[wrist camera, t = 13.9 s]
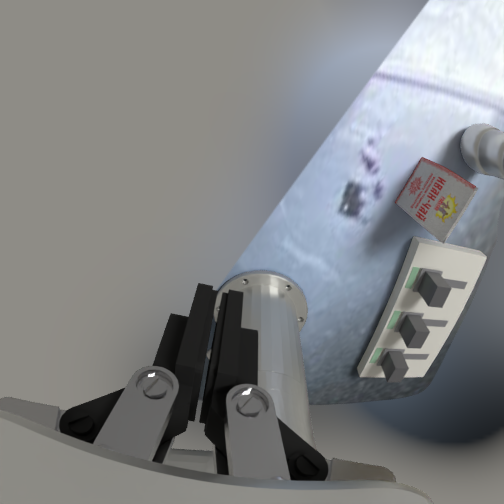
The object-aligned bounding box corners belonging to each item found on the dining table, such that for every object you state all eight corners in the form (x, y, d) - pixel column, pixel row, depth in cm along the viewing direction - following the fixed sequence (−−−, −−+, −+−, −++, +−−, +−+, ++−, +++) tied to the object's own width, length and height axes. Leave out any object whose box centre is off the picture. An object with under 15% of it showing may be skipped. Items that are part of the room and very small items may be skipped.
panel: (419, 369, 49) (423, 377, 47) (356, 368, 49) (359, 377, 47) (480, 250, 39) (487, 257, 37) (413, 236, 38) (419, 242, 36)
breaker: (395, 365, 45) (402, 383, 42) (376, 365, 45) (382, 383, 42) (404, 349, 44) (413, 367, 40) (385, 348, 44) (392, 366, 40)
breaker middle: (413, 332, 42) (423, 350, 39) (394, 331, 42) (402, 349, 39) (423, 313, 41) (434, 330, 37) (403, 311, 41) (413, 329, 37)
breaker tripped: (432, 293, 39) (444, 310, 36) (412, 290, 39) (423, 308, 35) (442, 271, 38) (455, 286, 34) (422, 267, 37) (435, 283, 34)
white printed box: (441, 172, 34) (487, 197, 25) (415, 216, 37) (453, 251, 28) (421, 157, 33) (466, 177, 25) (394, 202, 36) (431, 235, 27)
